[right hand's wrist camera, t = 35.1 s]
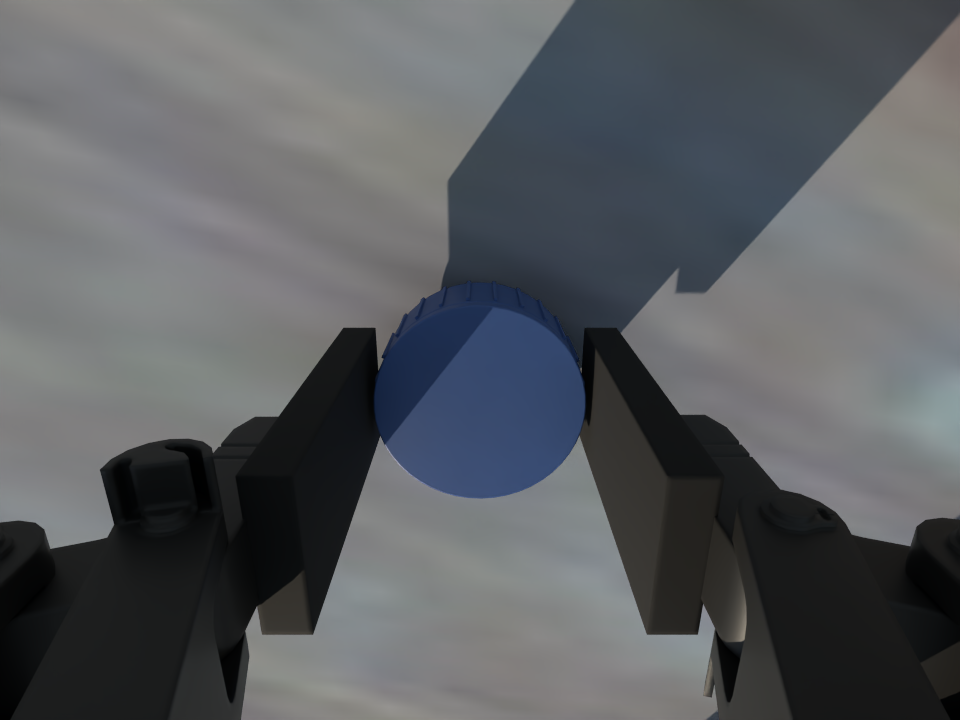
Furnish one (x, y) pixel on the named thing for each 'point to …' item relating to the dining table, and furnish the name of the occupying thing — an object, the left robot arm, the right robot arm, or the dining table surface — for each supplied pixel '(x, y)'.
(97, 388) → the dining table surface
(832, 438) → the dining table surface
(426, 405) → the cap
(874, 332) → the dining table surface
